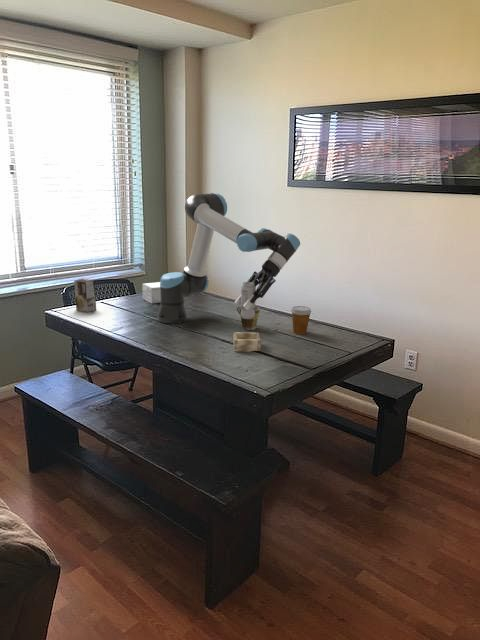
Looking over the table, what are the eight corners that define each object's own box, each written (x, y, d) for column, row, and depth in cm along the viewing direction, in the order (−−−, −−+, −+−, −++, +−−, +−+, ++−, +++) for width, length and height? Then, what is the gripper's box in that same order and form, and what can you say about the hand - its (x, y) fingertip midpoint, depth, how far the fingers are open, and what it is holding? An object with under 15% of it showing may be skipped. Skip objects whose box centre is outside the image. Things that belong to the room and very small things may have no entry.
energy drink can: (256, 318, 224) (257, 284, 220) (243, 319, 222) (243, 284, 218) (252, 315, 229) (253, 281, 225) (239, 315, 228) (239, 281, 224)
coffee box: (96, 310, 282) (95, 280, 278) (87, 312, 277) (85, 282, 272) (85, 307, 287) (83, 278, 282) (75, 309, 281) (73, 280, 277)
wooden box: (234, 351, 224) (234, 340, 223) (233, 343, 235) (233, 332, 233) (260, 351, 225) (260, 340, 223) (257, 343, 235) (258, 332, 234)
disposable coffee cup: (311, 331, 255) (313, 307, 252) (307, 336, 247) (309, 311, 243) (292, 328, 258) (293, 304, 255) (287, 334, 249) (289, 309, 246)
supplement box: (151, 303, 298) (151, 287, 295) (142, 298, 309) (142, 283, 306) (178, 300, 307) (178, 284, 304) (168, 295, 317) (168, 280, 315)
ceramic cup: (263, 328, 258) (264, 308, 255) (249, 332, 251) (250, 311, 248) (243, 322, 266) (244, 303, 264) (230, 326, 259) (230, 306, 257)
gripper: (292, 274, 221) (258, 317, 217) (265, 266, 236) (234, 306, 232) (282, 262, 217) (248, 306, 213) (256, 255, 232) (223, 296, 228)
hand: (240, 306), depth 222 cm, fingers closed on energy drink can, 6 cm apart
